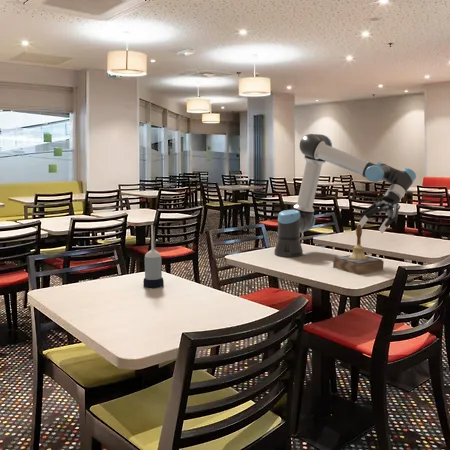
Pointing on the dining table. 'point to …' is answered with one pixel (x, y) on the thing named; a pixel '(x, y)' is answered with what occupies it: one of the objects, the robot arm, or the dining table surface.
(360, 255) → the hand bell
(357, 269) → the bell stand
